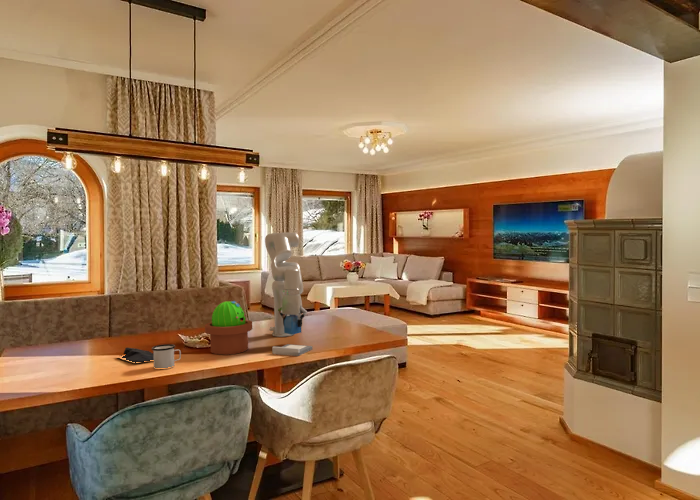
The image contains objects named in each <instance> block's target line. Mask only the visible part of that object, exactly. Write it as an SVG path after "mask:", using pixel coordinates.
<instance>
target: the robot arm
mask: <svg viewBox="0 0 700 500" xmlns="http://www.w3.org/2000/svg"><path fill="white" fill-rule="evenodd" d="M300 240H301V239H300V236H299V234H298V233H297V232H296V231H295V232H294V231H289V232H273V233H271V232H270V233H269V234H267V235H266V236H265V238H264V243H265V249H266V251H267V254H268V255H269V258H270V270H271V275H272V276H271V277H272V279H273V282H272V284H271V289H272V297H273V306H274V307H273V310H274V326H269V330H268V331H271V334H272V336H273V337H278V338H279V337H280V338H281V337H282V338H283V337H291V336H294V335H295V334H293V335H291V334H287V333H284V320H285V319H286V317H287V316H290V315H296V316H297V317H298V327H301V328H302V326H303V319H304V317H305V316H306V315H307V313H308V311H307V310H306V309H305V308H304V307H303V301H302V297H301V294H302V293H303V292H304V284H303V276H302V271H301V267H300V264H299V263H298V262H296V261H287V260H289V259H290V258H291V257H292V256H293V250H292V248H297V247H299V245H300Z"/></svg>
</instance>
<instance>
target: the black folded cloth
mask: <svg viewBox="0 0 700 500" xmlns="http://www.w3.org/2000/svg"><path fill="white" fill-rule="evenodd" d="M124 348H125V349H124V351H123V354H126V355H125V356H123V357H122V358H126V360H129V361H132V362H135V363H136V362H144V361H150V360H154V359H153V352H151V351H149V350H144V349H139V348H135V347H134V348H133V347H124ZM123 354H121V355H120V356H122V355H123Z"/></svg>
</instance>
